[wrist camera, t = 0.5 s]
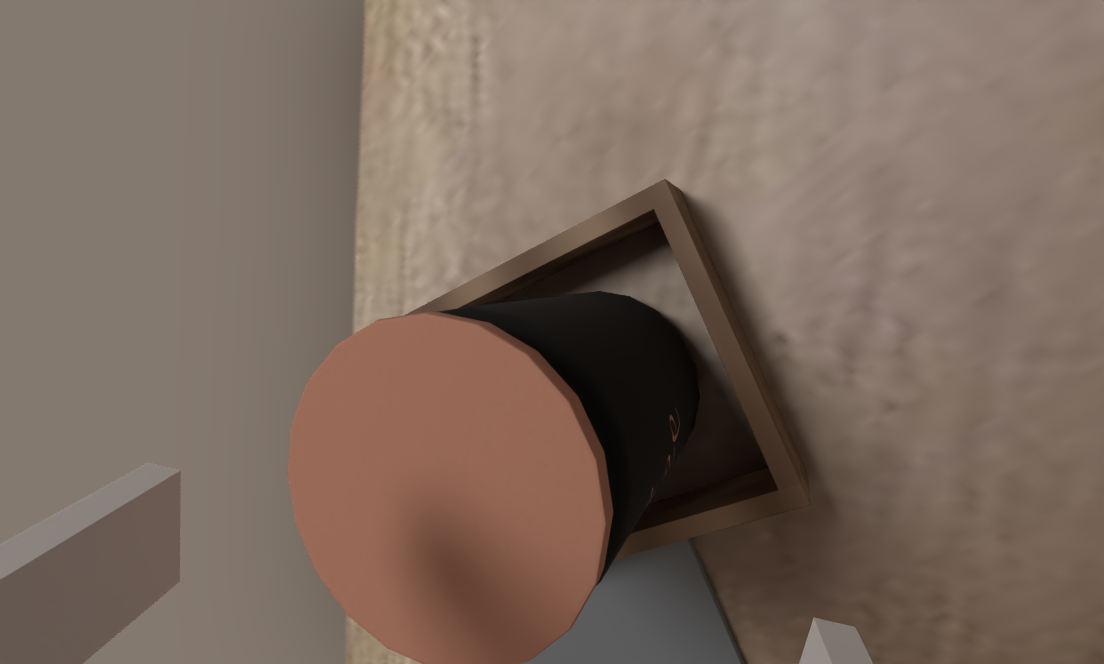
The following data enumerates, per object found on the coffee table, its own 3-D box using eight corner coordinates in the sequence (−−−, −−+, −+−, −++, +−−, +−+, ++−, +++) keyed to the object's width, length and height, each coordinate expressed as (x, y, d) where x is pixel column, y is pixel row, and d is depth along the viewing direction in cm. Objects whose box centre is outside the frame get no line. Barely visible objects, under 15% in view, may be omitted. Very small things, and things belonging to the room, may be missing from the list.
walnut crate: (679, 189, 32) (664, 178, 28) (808, 476, 31) (810, 504, 27) (440, 311, 38) (402, 316, 34) (542, 554, 37) (513, 587, 33)
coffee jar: (585, 510, 35) (401, 727, 19) (487, 358, 37) (233, 432, 20) (744, 417, 32) (690, 584, 15) (627, 251, 33) (458, 233, 16)
